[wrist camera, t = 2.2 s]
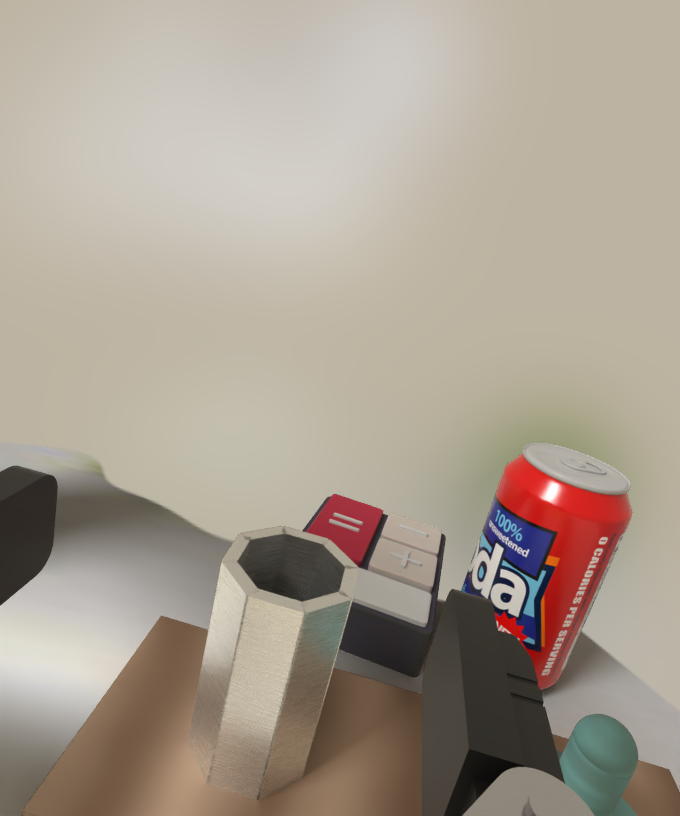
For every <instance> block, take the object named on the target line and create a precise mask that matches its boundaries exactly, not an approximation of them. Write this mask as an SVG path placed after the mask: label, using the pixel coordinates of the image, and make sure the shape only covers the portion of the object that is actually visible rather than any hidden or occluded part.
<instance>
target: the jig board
mask: <svg viewBox="0 0 680 816" xmlns="http://www.w3.org/2000/svg"><path fill="white" fill-rule="evenodd" d="M207 635H208V630H207V629H204V628H200V627H197V626H194V625H190V624H187V623H184V622H180V621H177V620H174V619H171V618H167V617H164V616H161V617H160V618H159V619H158V621H157V622H156V624H155V625H154V626H153V628H152V629H151V631H150V632H149V633H148V635H147V636H146V638H145V639H144V640H143V642H142V643H141V645H140V646H139V647H138V649H137V650H136V652H135V653H134V655H133V656H132V657H131V659H130V660H129V662H128V663H127V664H126V666H125V667H124V669H123V670H122V671H121V673H120V674H119V676H118V677H117V678H116V680H115V681H114V683H113V684H112V685H111V687H110V688H109V690H108V691H107V692H106V694H105V695H104V697H103V698H102V699H101V701H100V702H99V704H98V705H97V706H96V708H95V709H94V711H93V712H92V713H91V715H90V716H89V718H88V719H87V720H86V722H85V723H84V725H83V726H82V727H81V729H80V730H79V732H78V733H77V734H76V736H75V737H74V739H73V740H72V741H71V743H70V744H69V746H68V747H67V748H66V750H65V751H64V753H63V754H62V755H61V757H60V758H59V760H58V761H57V762H56V764H55V765H54V767H53V768H52V769H51V771H50V772H49V774H48V775H47V776H46V778H45V779H44V781H43V782H42V783H41V785H40V786H39V788H38V789H37V790H36V792H35V793H34V795H33V796H32V798H31V799H30V800H29V802H28V803H27V805H26V806H25V807H24V809H23V810H22V816H422V695H421V694H418V693H415V692H411V691H408V690H405V689H401V688H398V687H395V686H391V685H388V684H385V683H382V682H378V681H375V680H372V679H368V678H365V677H362V676H359V675H355V674H352V673H349V672H345V671H342V670H339V669H335V668H333V671H332V674H331V678H330V681H329V685H328V688H327V692H326V695H325V699H324V702H323V706H322V710H321V713H320V717H319V720H318V724H317V727H316V731H315V734H314V738H313V741H312V745H311V748H310V752H309V756H308V759H307V763H306V766H305V770H304V773H303V777H301V779H300V780H298V781H296V782H294V783H292V784H290V785H288V786H286V787H284V788H282V789H280V790H278V791H277V792H275V793H273V794H271V795H269V796H267V797H265V798H263V799H261V800H258V798H257V801H256V800H253V799H250V798H247V797H243V796H240V795H237V794H234V793H231V792H228V791H225V790H222V789H219V788H216V787H213V786H210V785H209V783H206V781H205V779H204V777H203V775H202V773H201V771H200V768H199V766H198V764H197V762H196V760H195V758H194V756H193V753H192V751H191V749H190V747H189V745H188V743H187V742H188V735H189V730H190V724H191V719H192V714H193V708H194V703H195V698H196V693H197V687H198V682H199V677H200V672H201V666H202V661H203V656H204V651H205V645H206V640H207ZM552 736H553V740H554V743H555V747H556V751H557V755H558V758H559V762H560V766H561V770H562V773H563V777H564V781H565V784H566V785H567V786H568V787H570V788H571V789H572V790H573V791H574V792H575V793H576V794H578V795H579V796H580V798H581V799H582V800H583V801H584V802H585V803H586V804H587V806H588V807H589V808H590V810H591V811H592V812H593V814H594V815H595V816H680V792H679V790H678V788H677V785H676V783H675V781H674V779H673V777H672V775H671V772H670V770H668V769H665V768H662V767H659V766H655V765H652V764H649V763H645V762H642V761H639V760H638V751H637V747H636V744H635V741H634V739H633V737H632V735H631V734H630V732H629V731H628V730H627V729H626V727H625V726H624V725H622V724H621V723H620V722H619V721H617V720H616V719H614V718H612V717H610V716H607V715H602V714H593V715H589V716H586V717H584V718H583V719H581V720H580V721H579V722H578V723H577V725H576V726H575V728H574V730H573V732H572V734H571V736H570V738H569V739H566V738H563V737H560V736H556V735H553V734H552Z"/></svg>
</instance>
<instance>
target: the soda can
mask: <svg viewBox="0 0 680 816" xmlns="http://www.w3.org/2000/svg"><path fill="white" fill-rule="evenodd" d="M630 487H631V484H630V482H629V480H628V479H627V478H626V477H625V476H624V475H623V474H622V473H620V472H619V471H617V470H616V469H614V468H613V467H611V466H609V465H608V464H606V463H604V462H602V461H600V460H598V459H595V458H593V457H591V456H588V455H586V454H583V453H580V452H577V451H575V450H571V449H568V448H564V447H560V446H556V445H551V444H545V443H530V444H527V445H525V446H524V448H523V453H522V454H521V455H520V456H518V457H517V458H515V459H514V460H512V461H511V462H509V463H508V464H507V465H506V467H505V468H504V471H503V474H502V476H501V479H500V482H499V485H498V488H497V490H496V493H495V496H494V499H493V502H492V505H491V507H490V511H489V513H488V516H487V519H486V522H485V524H484V527H483V530H482V533H481V536H480V539H479V541H478V544H477V547H476V550H475V553H474V556H473V558H472V561H471V564H470V567H469V570H468V573H467V575H466V578H465V581H464V584H463V587H462V590H461V591H462V592H465V593H469V594H472V595H476V596H479V597H483V598H487V599H490V600H491V601H492V603H493V607H494V612H495V617H496V622H497V627H498V631H502V632H505V633H509V634H512V635H515V636H516V637H517V639H518V640H519V641H520V643H521V644H522V645H523V647H524V648H525V650H526V651H527V652H528V654H529V655H530V657H531V658H532V661H533V665H534V668H535V672H536V676H537V680H538V687H540V690H542V689H546V688H548V687H551V686H552V685H554V684H555V683H556V682H557V681H558V680H559V678H560V677H561V675H562V673H563V671H564V669H565V666H566V664H567V662H568V660H569V658H570V655H571V653H572V651H573V649H574V646H575V644H576V642H577V640H578V637H579V635H580V633H581V631H582V628H583V626H584V624H585V622H586V619H587V617H588V615H589V612H590V610H591V608H592V606H593V604H594V601H595V599H596V597H597V595H598V592H599V590H600V588H601V585H602V583H603V581H604V579H605V576H606V574H607V572H608V570H609V567H610V565H611V563H612V561H613V559H614V556H615V554H616V552H617V550H618V547H619V545H620V543H621V540H622V538H623V536H624V534H625V532H626V529H627V527H628V525H629V522H630V520H631V517H632V509H631V506H630V503H629V499H628V495H627V492H628V491H629V490H630Z"/></svg>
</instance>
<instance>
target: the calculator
mask: <svg viewBox="0 0 680 816" xmlns="http://www.w3.org/2000/svg"><path fill="white" fill-rule="evenodd" d="M303 532H307V533H310V534H314V535H317V536H321V537H324V538H328V540H331V541H332V542H333V543H334V544H335V545H336V546H337V547H338V548H339V549H340V550H341V551H342V552H343V553H344V554H345V555H347V556H348V557H349V558H350V559H351V560H352V561H353V562H354V563H355V564H356V565H357V566H358V568H359V571H358V576H357V581H356V586H355V591H354V596H353V600H352V603H351V607H350V610H349V614H348V618H347V621H346V625H345V628H344V632H343V635H342V639H341V642H340V646H339V649H340V650H343V651H346V652H348V653H351V654H353V655H356V656H359V657H361V658H364V659H366V660H369V661H371V662H374V663H377V664H379V665H382V666H384V667H387V668H390V669H392V670H395V671H397V672H400V673H403V674H405V675H408V676H411V677H417V676H418V674H419V672H420V669H421V666H422V663H423V660H424V657H425V654H426V651H427V648H428V645H429V642H430V639H431V636H432V632H433V626H434V619H435V611H436V604H437V597H438V590H439V583H440V582H439V581H440V575H441V568H442V561H443V553H444V546H445V539H446V538H445V535H443V534H442V531H441V529H439V528H436V527H432V526H430V525H427V524H424V523H421V522H418V521H415V520H411V519H409V518H406V517H403V516H400V515H396V514H394V513H390V514H389V516H388V515H385V514H383V510H381V509H379V508H376V507H373V506H370V505H367V504H364V503H361V502H358V501H355V500H352V499H349V498H346V497H343V496H340V495H337V494H333V495H332V496H331V497H328V498H326V500H325V501H324V502H323V504H322V505H321V506H320V508H319V509H318V511H317V512H316V513H315V515H314V516H313V517H312V519H311V520H310V521H309V523H308V524H307V525H306V527H305V528H304V529H303Z"/></svg>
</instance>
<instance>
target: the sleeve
mask: <svg viewBox="0 0 680 816" xmlns="http://www.w3.org/2000/svg"><path fill="white" fill-rule="evenodd" d="M358 571H359V568H358V566H357V565H356V564H355V563H354V562H353V561H352V560H351V559H350V558H349V557H348V556H347V555H345V554H344V553H343V552H342V551H341V550H340V549H339V548H338V547H337V546H336V545H335V544H334V543H333V542H332V541H331V540H328V538H324V537H321V536H317V535H314V534H310V533H307V532H303V531H300V530H296V529H293V528H289V527H286V526H284V527H282V526H278V527H272V528H267V529H261V530H256V531H249V532H243V533H240V534H238V536H237V537H236V539H235V540H234V542H233V543H232V545H231V547H230V548H229V550H228V551H227V553H226V554H225V556H224V557H223V559H222V561H221V567H220V572H219V577H218V582H217V588H216V593H215V598H214V603H213V609H212V614H211V619H210V624H209V630H208V635H207V640H206V645H205V651H204V656H203V661H202V666H201V672H200V677H199V682H198V687H197V693H196V698H195V703H194V708H193V714H192V719H191V724H190V730H189V735H188V742H187V743H188V745H189V747H190V749H191V751H192V753H193V756H194V758H195V760H196V762H197V764H198V766H199V768H200V771H201V773H202V775H203V777H204V779H205V781H206V783H209V785H210V786H213V787H216V788H219V789H222V790H225V791H228V792H231V793H234V794H237V795H240V796H243V797H247V798H250V799H253V800H256V801H257V798H258V800H261V799H263V798H265V797H267V796H269V795H271V794H273V793H275V792H277V791H278V790H280V789H282V788H284V787H286V786H288V785H290V784H292V783H294V782H296V781H298V780H300V779H301V777H303V773H304V770H305V766H306V763H307V759H308V756H309V752H310V748H311V745H312V741H313V738H314V734H315V731H316V727H317V724H318V720H319V717H320V713H321V710H322V706H323V702H324V699H325V695H326V692H327V688H328V685H329V681H330V678H331V674H332V671H333V667H334V664H335V660H336V656H337V653H338V649H339V646H340V642H341V639H342V635H343V632H344V628H345V625H346V621H347V618H348V614H349V610H350V607H351V603H352V600H353V596H354V591H355V586H356V581H357V576H358Z"/></svg>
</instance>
